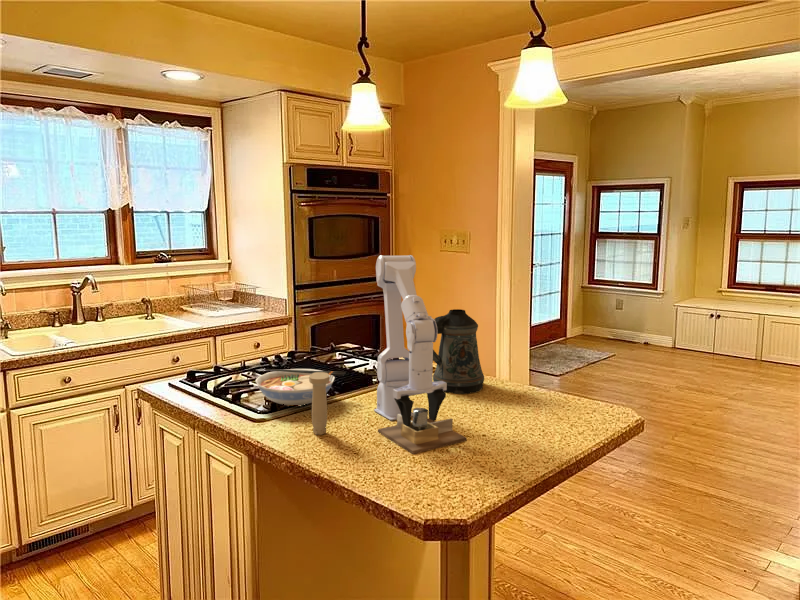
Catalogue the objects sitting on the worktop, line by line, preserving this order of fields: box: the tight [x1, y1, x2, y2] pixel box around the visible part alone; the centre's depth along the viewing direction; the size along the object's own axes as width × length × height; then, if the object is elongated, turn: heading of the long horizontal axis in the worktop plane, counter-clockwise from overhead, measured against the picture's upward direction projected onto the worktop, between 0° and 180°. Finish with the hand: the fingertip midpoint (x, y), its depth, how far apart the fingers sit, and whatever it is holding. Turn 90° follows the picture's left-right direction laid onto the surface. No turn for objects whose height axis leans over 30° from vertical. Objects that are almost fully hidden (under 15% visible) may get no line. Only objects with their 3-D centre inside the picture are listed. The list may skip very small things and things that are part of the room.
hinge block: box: [377, 414, 468, 455], centre depth 149 cm, size 16×16×4 cm
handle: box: [309, 372, 329, 436], centre depth 150 cm, size 5×6×15 cm
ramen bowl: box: [255, 368, 346, 406], centre depth 174 cm, size 25×23×8 cm
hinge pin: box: [412, 407, 429, 431], centre depth 146 cm, size 4×4×7 cm
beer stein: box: [432, 308, 485, 395], centre depth 190 cm, size 16×19×25 cm
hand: (419, 422), depth 146 cm, fingers open, 7 cm apart
